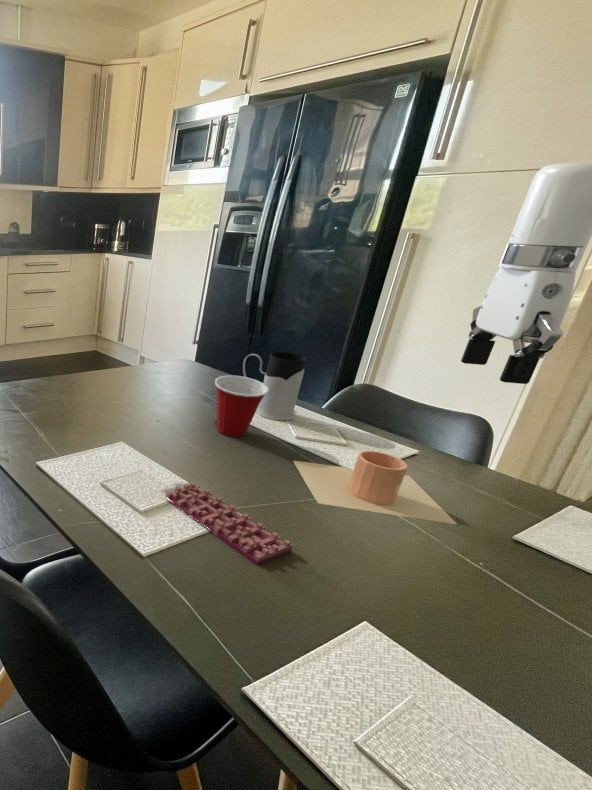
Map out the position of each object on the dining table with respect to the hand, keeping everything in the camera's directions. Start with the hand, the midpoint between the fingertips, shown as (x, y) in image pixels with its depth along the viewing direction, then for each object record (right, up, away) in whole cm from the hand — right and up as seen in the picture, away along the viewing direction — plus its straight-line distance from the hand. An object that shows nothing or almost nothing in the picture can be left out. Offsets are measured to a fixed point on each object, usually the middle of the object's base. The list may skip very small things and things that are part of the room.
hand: (491, 372), depth 75 cm
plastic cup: (-23, -12, +36) cm, 44 cm away
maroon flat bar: (-41, -24, +3) cm, 48 cm away
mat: (-10, -21, +12) cm, 26 cm away
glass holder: (-9, -7, +48) cm, 49 cm away
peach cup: (-10, -21, +11) cm, 26 cm away
